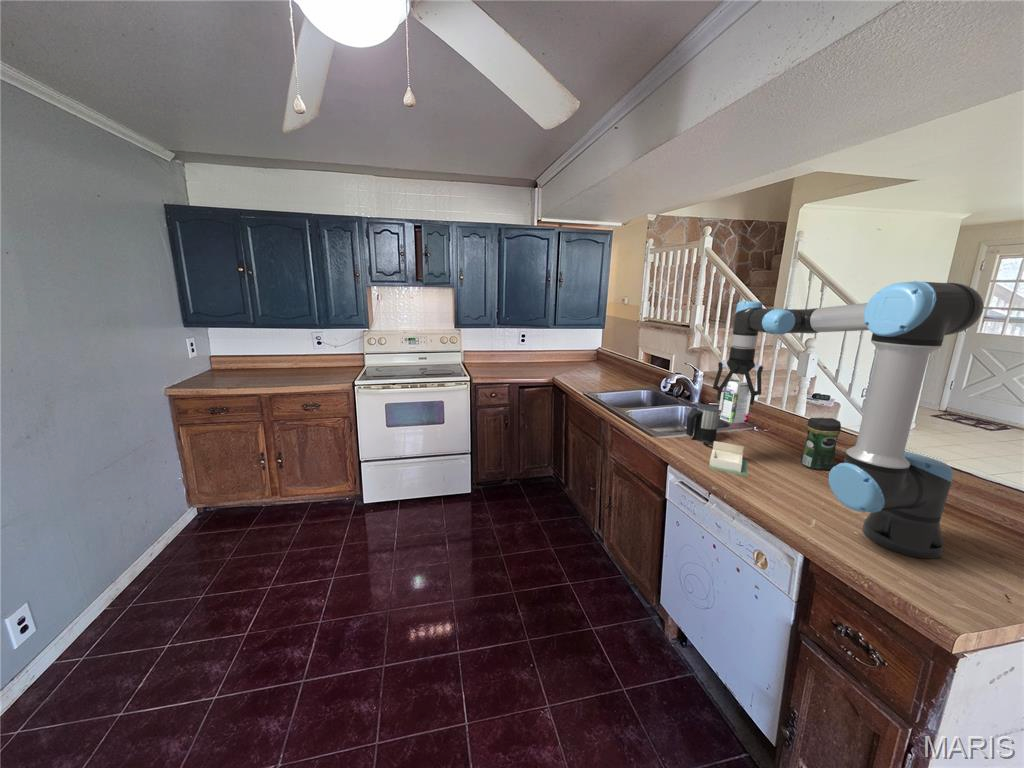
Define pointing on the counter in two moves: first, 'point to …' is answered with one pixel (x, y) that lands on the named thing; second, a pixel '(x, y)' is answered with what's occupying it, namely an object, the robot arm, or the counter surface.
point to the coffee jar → (821, 443)
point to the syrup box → (734, 401)
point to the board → (743, 471)
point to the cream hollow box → (726, 456)
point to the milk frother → (703, 423)
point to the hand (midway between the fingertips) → (733, 411)
